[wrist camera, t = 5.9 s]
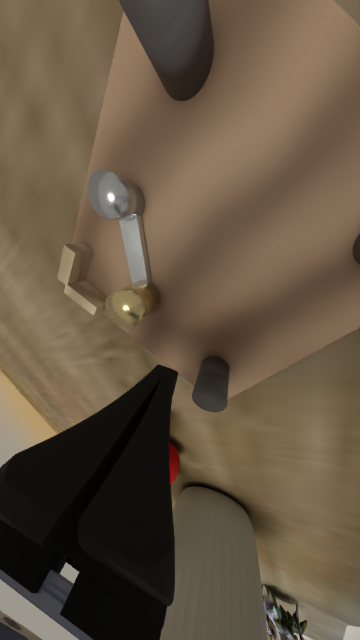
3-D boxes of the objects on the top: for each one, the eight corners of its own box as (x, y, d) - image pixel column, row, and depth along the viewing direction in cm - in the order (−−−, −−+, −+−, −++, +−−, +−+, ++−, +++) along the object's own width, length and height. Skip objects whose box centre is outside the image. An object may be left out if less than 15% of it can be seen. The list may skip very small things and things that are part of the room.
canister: (227, 529, 37) (215, 809, 19) (157, 483, 37) (82, 714, 19) (292, 524, 27) (394, 1092, 9) (197, 462, 27) (117, 886, 10)
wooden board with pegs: (505, 222, 8) (808, 211, 4) (220, 392, 19) (214, 439, 14) (177, -95, 7) (80, -605, 3) (75, 278, 18) (23, 293, 13)
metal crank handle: (109, 184, 11) (63, 168, 8) (144, 177, 10) (106, 155, 7) (135, 308, 15) (110, 327, 12) (162, 310, 14) (142, 330, 11)
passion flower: (264, 554, 51) (264, 607, 41) (307, 585, 46) (320, 655, 36) (258, 594, 50) (256, 659, 40) (302, 631, 45) (313, 716, 35)
